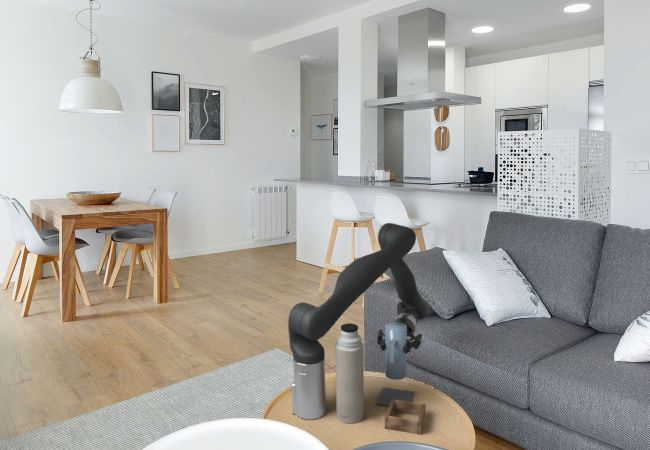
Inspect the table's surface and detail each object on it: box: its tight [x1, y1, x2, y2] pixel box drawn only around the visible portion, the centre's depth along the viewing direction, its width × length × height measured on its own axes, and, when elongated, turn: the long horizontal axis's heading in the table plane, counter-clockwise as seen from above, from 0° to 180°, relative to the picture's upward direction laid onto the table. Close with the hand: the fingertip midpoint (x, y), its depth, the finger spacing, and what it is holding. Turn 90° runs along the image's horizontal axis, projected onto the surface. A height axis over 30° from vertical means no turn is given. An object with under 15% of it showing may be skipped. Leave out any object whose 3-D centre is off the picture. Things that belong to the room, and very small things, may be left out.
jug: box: [384, 321, 407, 381], centre depth 156 cm, size 6×9×16 cm
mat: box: [375, 386, 415, 408], centre depth 161 cm, size 10×10×1 cm
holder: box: [384, 399, 427, 435], centre depth 148 cm, size 10×10×4 cm
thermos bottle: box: [335, 322, 365, 424], centre depth 149 cm, size 8×8×28 cm
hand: (394, 349), depth 155 cm, fingers closed on jug, 6 cm apart
